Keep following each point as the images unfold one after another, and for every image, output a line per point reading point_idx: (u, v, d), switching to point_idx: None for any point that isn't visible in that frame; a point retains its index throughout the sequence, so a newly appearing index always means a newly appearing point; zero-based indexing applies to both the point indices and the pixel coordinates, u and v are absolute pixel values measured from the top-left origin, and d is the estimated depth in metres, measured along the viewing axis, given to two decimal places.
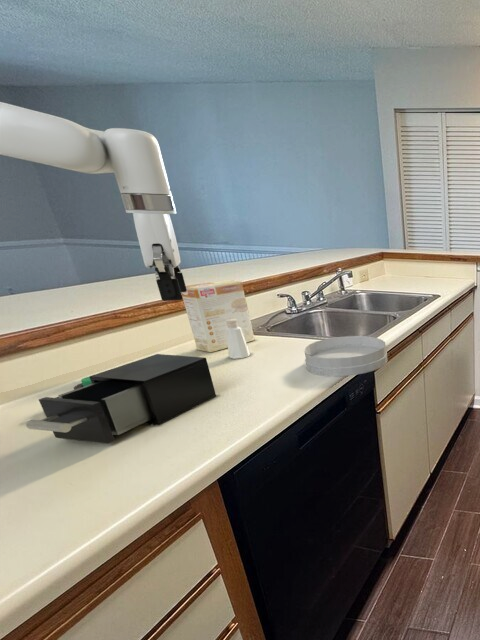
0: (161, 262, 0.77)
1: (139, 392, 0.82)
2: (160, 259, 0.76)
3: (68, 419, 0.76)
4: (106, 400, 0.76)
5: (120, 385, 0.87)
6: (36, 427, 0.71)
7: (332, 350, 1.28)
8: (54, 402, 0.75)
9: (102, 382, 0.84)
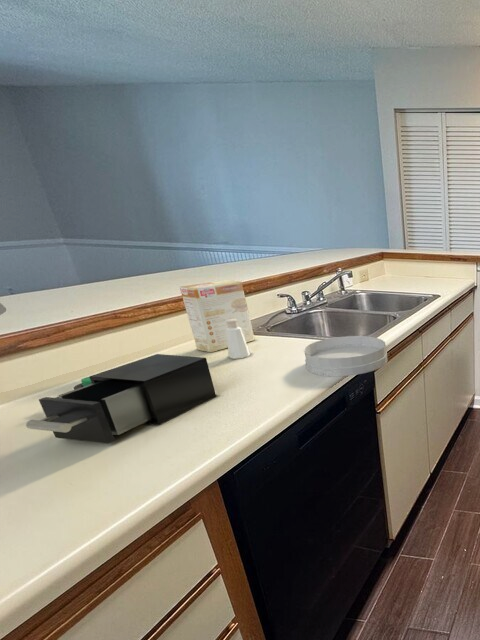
0: None
1: (139, 392, 0.82)
2: None
3: (68, 419, 0.76)
4: (106, 400, 0.76)
5: (120, 385, 0.87)
6: (36, 427, 0.71)
7: (332, 350, 1.28)
8: (54, 402, 0.75)
9: (102, 382, 0.84)
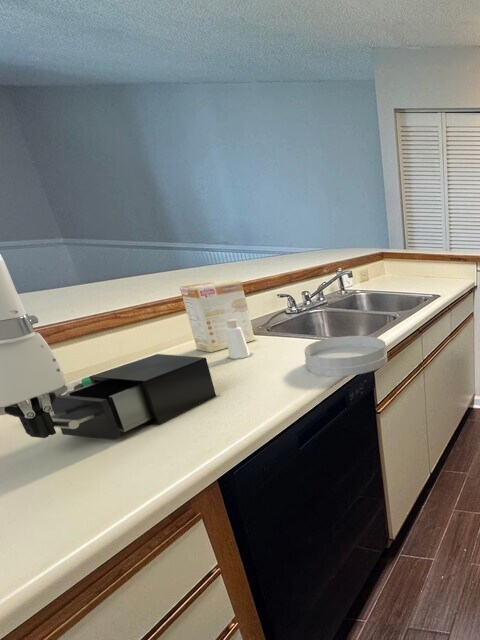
0: None
1: None
2: None
3: (76, 416, 0.77)
4: (113, 398, 0.77)
5: (126, 383, 0.88)
6: None
7: (332, 350, 1.28)
8: (62, 399, 0.76)
9: None
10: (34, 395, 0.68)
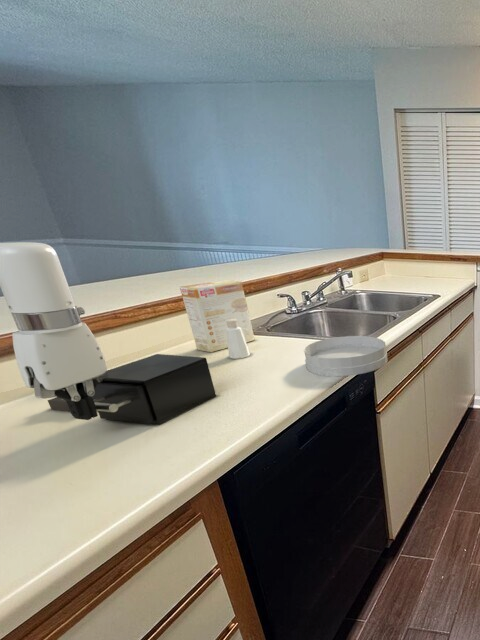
0: None
1: None
2: (42, 398, 0.71)
3: (114, 401, 0.83)
4: None
5: None
6: None
7: (332, 350, 1.28)
8: (101, 385, 0.82)
9: None
10: (80, 380, 0.74)
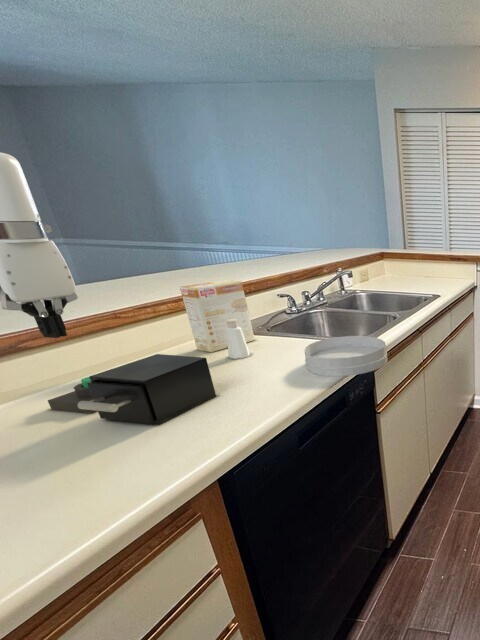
0: None
1: None
2: (8, 309, 0.72)
3: (114, 401, 0.83)
4: None
5: None
6: (87, 407, 0.79)
7: (332, 350, 1.28)
8: (101, 385, 0.82)
9: None
10: (47, 296, 0.76)
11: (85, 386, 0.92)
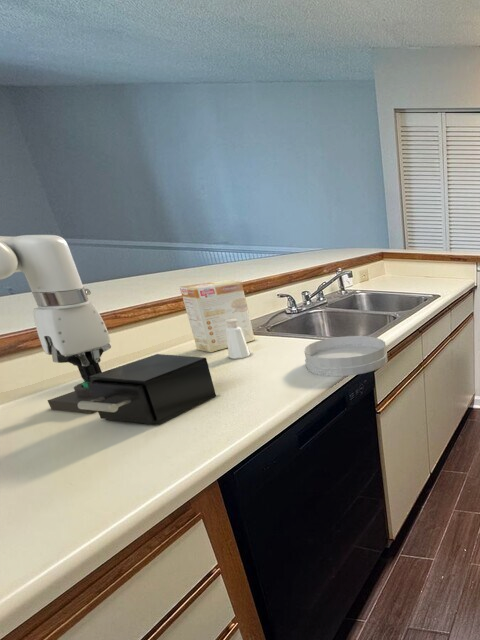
0: (61, 362, 0.87)
1: None
2: (58, 362, 0.86)
3: (114, 401, 0.83)
4: None
5: None
6: (87, 407, 0.79)
7: (332, 350, 1.28)
8: (101, 385, 0.82)
9: None
10: (89, 349, 0.90)
11: None
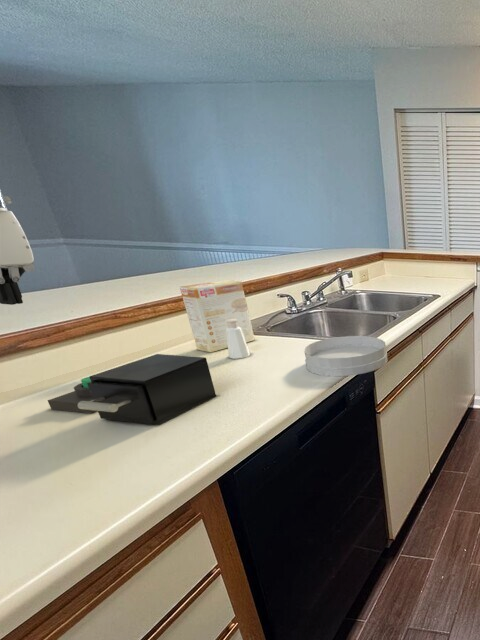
0: None
1: None
2: None
3: (114, 401, 0.83)
4: None
5: None
6: (87, 407, 0.79)
7: (332, 350, 1.28)
8: (101, 385, 0.82)
9: None
10: (4, 263, 0.79)
11: (85, 386, 0.92)
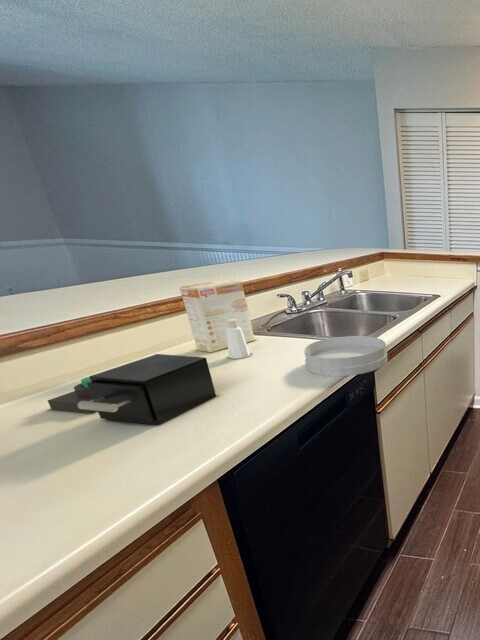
0: None
1: None
2: None
3: (114, 401, 0.83)
4: None
5: None
6: (87, 407, 0.79)
7: (332, 350, 1.28)
8: (101, 385, 0.82)
9: None
10: None
11: (85, 386, 0.92)
